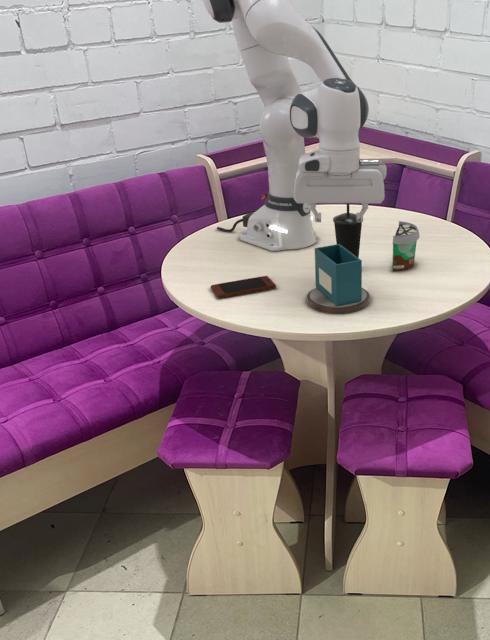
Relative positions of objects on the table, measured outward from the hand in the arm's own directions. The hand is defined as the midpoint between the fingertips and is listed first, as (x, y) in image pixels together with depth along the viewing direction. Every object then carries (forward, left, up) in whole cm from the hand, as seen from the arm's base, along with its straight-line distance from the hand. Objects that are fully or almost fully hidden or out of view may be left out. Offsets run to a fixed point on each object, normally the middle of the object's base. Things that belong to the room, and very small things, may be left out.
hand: (338, 221), depth 169 cm
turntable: (0, 0, -19) cm, 19 cm away
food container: (+4, +28, -20) cm, 34 cm away
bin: (0, 0, -18) cm, 18 cm away
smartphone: (-24, -6, -19) cm, 32 cm away
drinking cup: (-8, +18, -20) cm, 28 cm away
